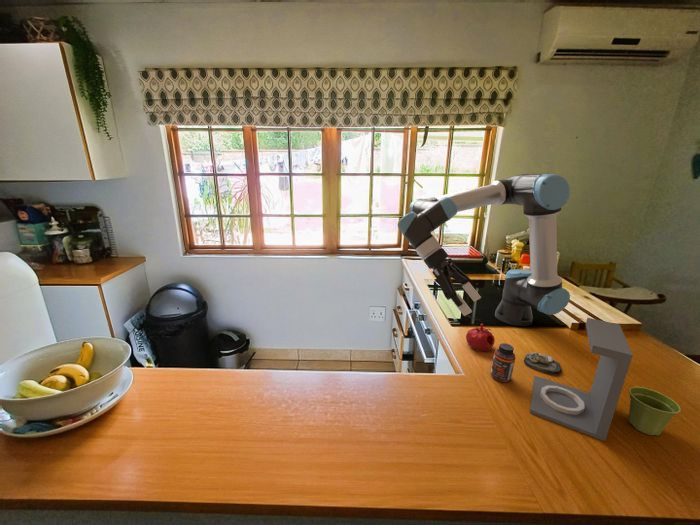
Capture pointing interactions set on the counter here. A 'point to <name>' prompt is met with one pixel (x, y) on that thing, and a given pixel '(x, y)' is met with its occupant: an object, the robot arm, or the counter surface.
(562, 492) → the counter surface
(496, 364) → the supplement bottle
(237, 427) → the counter surface
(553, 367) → the dark grey oval piece
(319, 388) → the counter surface
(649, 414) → the plant pot
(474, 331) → the pomegranate
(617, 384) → the seat stand
